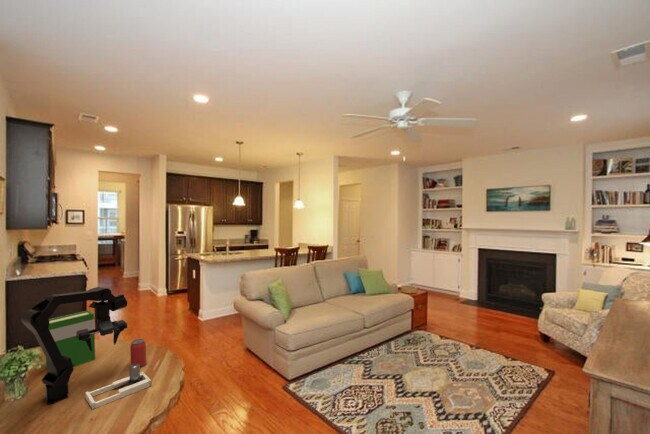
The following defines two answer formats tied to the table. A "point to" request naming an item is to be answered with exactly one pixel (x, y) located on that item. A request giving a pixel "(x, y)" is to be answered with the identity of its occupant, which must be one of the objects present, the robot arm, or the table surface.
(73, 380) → the table surface
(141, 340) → the beer can
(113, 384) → the keyhole dock
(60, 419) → the table surface
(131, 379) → the dark grey rounded piece
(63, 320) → the hardback book
